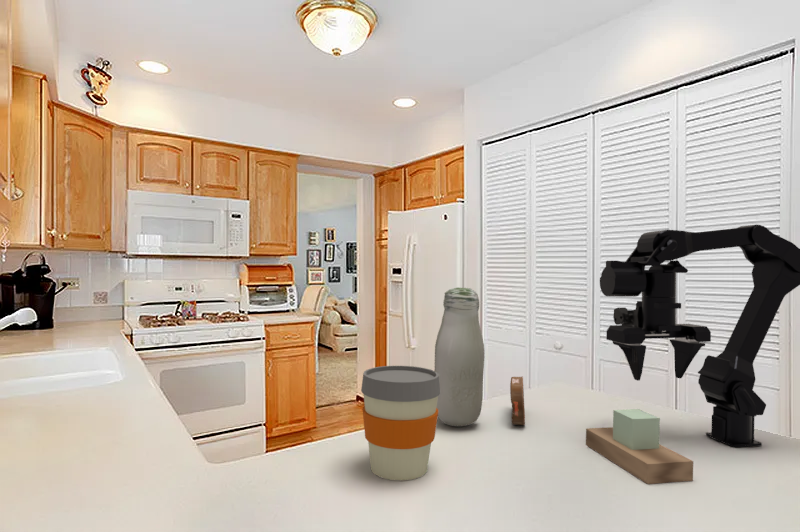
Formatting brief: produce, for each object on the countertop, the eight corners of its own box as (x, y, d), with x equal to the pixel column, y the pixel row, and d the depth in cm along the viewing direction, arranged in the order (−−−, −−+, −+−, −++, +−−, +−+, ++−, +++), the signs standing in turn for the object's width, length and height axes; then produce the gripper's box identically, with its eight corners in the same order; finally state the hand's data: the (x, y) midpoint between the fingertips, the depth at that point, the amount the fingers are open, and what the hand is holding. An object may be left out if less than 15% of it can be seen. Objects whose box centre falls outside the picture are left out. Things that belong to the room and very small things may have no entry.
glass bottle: (442, 434, 91) (446, 288, 91) (427, 417, 101) (430, 286, 101) (490, 431, 93) (493, 289, 93) (470, 415, 103) (473, 286, 103)
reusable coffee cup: (425, 492, 67) (427, 386, 67) (345, 477, 72) (347, 377, 72) (447, 459, 79) (449, 369, 79) (377, 448, 83) (379, 362, 84)
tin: (525, 431, 94) (525, 388, 94) (508, 429, 95) (509, 387, 95) (524, 409, 109) (525, 373, 109) (510, 408, 110) (511, 372, 110)
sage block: (638, 437, 83) (638, 408, 83) (659, 448, 78) (659, 417, 78) (612, 438, 82) (613, 410, 82) (632, 449, 77) (632, 419, 77)
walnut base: (624, 442, 89) (624, 426, 89) (692, 480, 73) (693, 461, 73) (585, 444, 87) (586, 428, 87) (647, 484, 72) (647, 464, 72)
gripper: (667, 294, 100) (667, 368, 100) (589, 294, 96) (588, 371, 96) (713, 297, 89) (712, 380, 89) (626, 298, 85) (626, 385, 85)
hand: (658, 379), depth 90 cm, fingers open, 9 cm apart
